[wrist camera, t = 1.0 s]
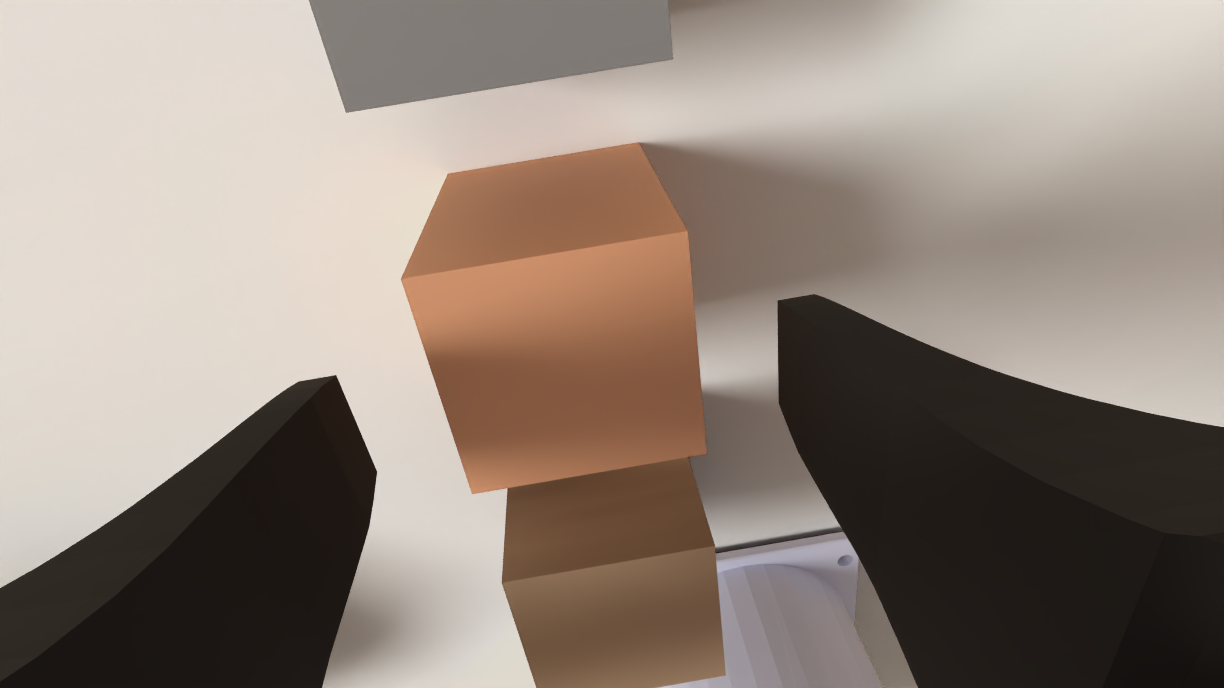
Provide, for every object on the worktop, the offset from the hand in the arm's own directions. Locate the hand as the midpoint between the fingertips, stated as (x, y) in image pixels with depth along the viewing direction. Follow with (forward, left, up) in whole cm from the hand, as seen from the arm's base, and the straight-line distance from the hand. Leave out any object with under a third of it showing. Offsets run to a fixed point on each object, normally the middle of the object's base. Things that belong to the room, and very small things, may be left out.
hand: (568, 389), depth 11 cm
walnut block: (-7, 0, -7) cm, 10 cm away
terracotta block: (0, 0, -7) cm, 7 cm away
